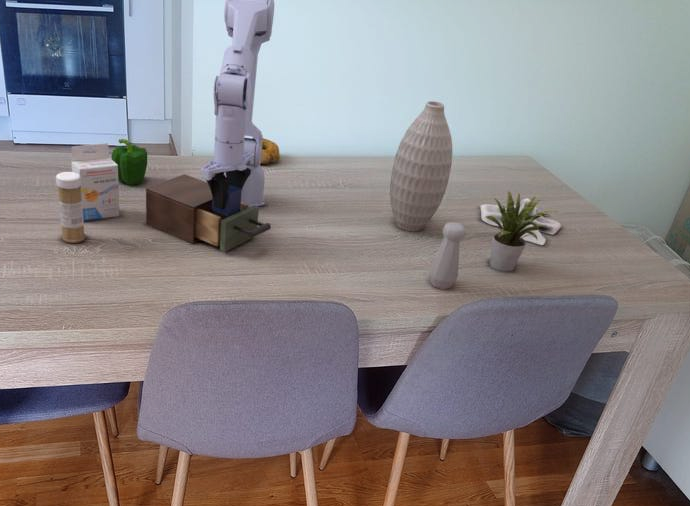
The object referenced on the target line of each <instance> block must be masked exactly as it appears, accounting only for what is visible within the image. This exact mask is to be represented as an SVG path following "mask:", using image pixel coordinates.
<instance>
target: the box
mask: <svg viewBox="0 0 690 506" xmlns="http://www.w3.org/2000/svg"><path fill="white" fill-rule="evenodd" d="M241 193H242V189H241V188H238V187H236V186H233V185H229V188H228V191H227V196H226V203H225V207H224V209H219V208H217V207H215V206H214V201H213V197H212V211H215V212H217V213H220V214H222V215H225V216H227V217H229V216H231V215H234V214H236V213H238V212H240V208H241Z"/></svg>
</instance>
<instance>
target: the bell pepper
mask: <svg viewBox="0 0 690 506" xmlns="http://www.w3.org/2000/svg"><path fill="white" fill-rule="evenodd" d="M118 143H119V144H125V146H126V147H125V146H122V145H117V146H116V147H115V149H113V150H112V153H111V159H112V160H113V161H114V162H115V163H116V164H117V165H118V182H121V183H125V184H126V185H132V186H133V185H139V184H141V183H142V182H143V181H144V180H145V176H146V173H147V167H148V150H147V149H146V148H145V147H139V146H138V145H136V144H132V145H131V143H130V142H129V141H128V139H125V138H119V139H118Z"/></svg>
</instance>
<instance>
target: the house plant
mask: <svg viewBox="0 0 690 506" xmlns="http://www.w3.org/2000/svg"><path fill="white" fill-rule="evenodd" d="M536 197H537V196H536V195H535V196H534V197H533V198H531V199H530V200H531V201H530V202H529V203H528V204H527V205H526V206H525V207H524V208H523V209H522V211H521V212H520V213H519V210H520V202H521V201H520V200H521V195H520V193H518V194H517V198H516V203H515V201H514V198H513V195H512V192H510V190H508V191H507V199H506V200H507V203H506V207H507V209H506V210H505V206H504V205H502V203H500V201H499V200H498V199H497V198H494V200H495V202H496V203H497V205H498V206H499V208H498V209H499V210H500V213H501V215H502V217H501V221H502V224H503V227H502V226H501V224H500V223H499V221H498V220H497V219H496V218H494V217H492V216H486V218H487V219H489V220H491V221H493V222H495V223H496V224H498V226H497V227H499V229H500V231H498V232H496V233H494V234H493V235H492V239H491V250H490V257H489V265H490V267H491V268H493V269H495V270H497V271H501V272H512V271H513V270H514V269H515V267H516V266H517V263H518V261H519V259H520V257H521V256H522V254H523V251H524V250H525V248H526V246H527V241H525V240H524V239H523V237H522V238H521V236H522V235H524V234H525V233H529V234H531V235H532V236H534V237H535V238H536V239H537V236H536V234H535V233H533V232H530V231H534V230H540V229H539V228H538V227H539V226H547V225H536V224H535V223H533V222H532V221H533V220H535V219H537V218H539V217H544V218H551V217H552V216H551V215H549V214H548V213H557V212H558V210H544V211H540V213H537V214H535V215H533V216H528V215H529V214H530V213H531V212H532V211H533V210H534V208H535V207H536V206H537V205H538V204H539V203H540V202H541V199H538V200H535V199H536ZM514 206H516V208H515V207H514ZM518 214H519V215H518ZM534 217H535V218H534ZM531 219H532V220H531ZM523 221H524V222H523ZM528 221H529V222H528ZM522 222H523V223H522ZM526 222H527V223H526ZM528 225H536V226H532V227H528V228H526V229H524V228H525V227H526V226H528ZM523 229H524V230H523ZM526 236H528V235H526ZM526 236H524V237H526Z"/></svg>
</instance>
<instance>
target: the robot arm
mask: <svg viewBox="0 0 690 506" xmlns="http://www.w3.org/2000/svg"><path fill="white" fill-rule="evenodd" d="M223 13H224V15H223V16H224V17H223V18H224V23H225V28H226V31H227V35H228V36H229V37H230V38H231V41H232V42H231V45H229V46H227V47H226V48H225V50H224V53H223V58H222V63H221V68H220V73H219V75H216V76H215V79H214V81H213V82H214V83H213V106H214V111H213V112H214V115H215V129H214V150H213V151H214V153H213V159H212V160H210V161H209V162H208V163H207V164H206V165H205V166H203V167H201V168H200V178H201V179H203V180H205V182H207V183H208V185H209V187H210V190H211V193H212V197H213V201H214V206H215V207H217V208H219V209H224V207H225V203H226V196H227V191H228V188H229V185H233V186H236V187H238V188H241V189H242V193H241V202H243V203H245V204H248V205H249V206H248V208H249V207H252V206H254V205H255V206H258V207H262V206H264V205H265V204H266V203H265V202H264V192H265V179H266V178H265V171H264V169H263V168H262V166H261V164H260V163H261V156H262V138H264V137H263V134H262V133H263V132H262V131H261V130H260V128H259V127H257V125H255V124H254V123H253V112H254V103H255V102H254V101H255V92H256V80H257V68H258V59H259V53H260V50H261V47H262V44H264V43H267V42H269V41H270V40H271V37H272V33H273V24H274V16H275V0H225V1H224V11H223ZM251 137H252V138H254V139H252V138H251Z"/></svg>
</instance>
